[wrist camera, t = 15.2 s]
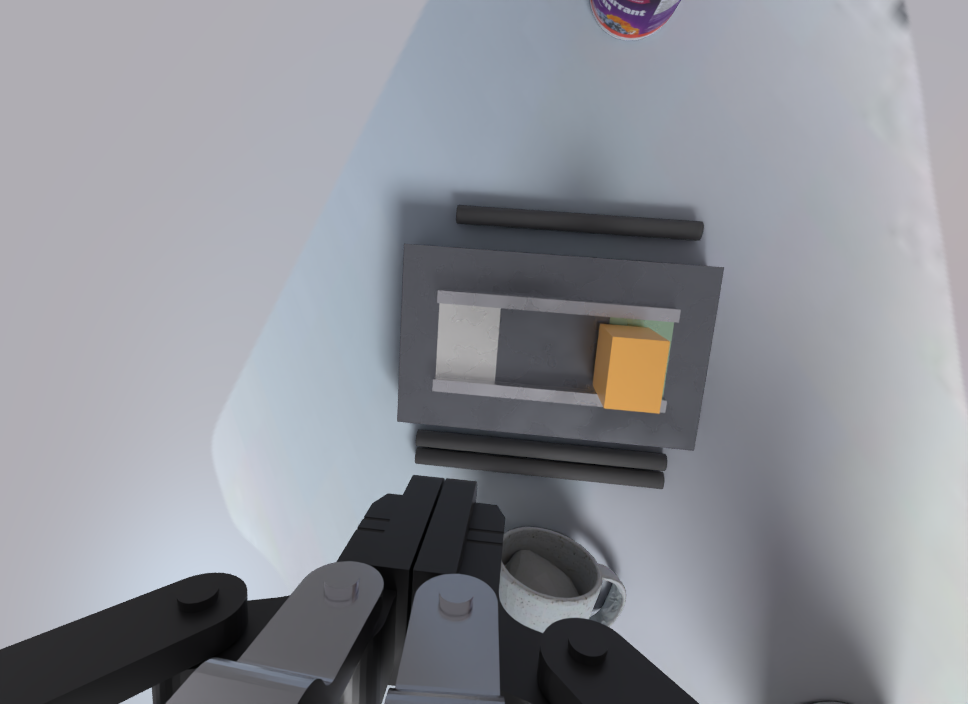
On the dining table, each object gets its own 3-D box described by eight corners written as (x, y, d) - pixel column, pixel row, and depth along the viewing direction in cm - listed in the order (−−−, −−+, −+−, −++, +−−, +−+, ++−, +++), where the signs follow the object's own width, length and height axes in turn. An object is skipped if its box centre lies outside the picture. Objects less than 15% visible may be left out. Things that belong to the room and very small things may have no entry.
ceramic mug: (477, 606, 41) (467, 688, 33) (498, 516, 39) (493, 580, 32) (606, 636, 41) (626, 724, 33) (633, 546, 39) (661, 618, 31)
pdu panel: (707, 266, 34) (730, 268, 30) (680, 434, 37) (698, 456, 33) (414, 244, 36) (400, 243, 32) (407, 408, 38) (393, 426, 34)
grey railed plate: (698, 222, 34) (704, 221, 32) (658, 484, 37) (662, 492, 36) (430, 204, 35) (427, 202, 34) (418, 459, 39) (414, 466, 38)
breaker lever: (648, 327, 32) (670, 341, 27) (639, 389, 33) (659, 413, 28) (599, 323, 32) (612, 336, 27) (592, 384, 33) (603, 408, 28)
